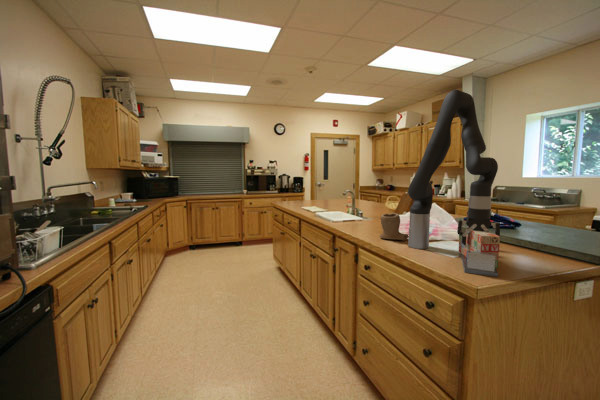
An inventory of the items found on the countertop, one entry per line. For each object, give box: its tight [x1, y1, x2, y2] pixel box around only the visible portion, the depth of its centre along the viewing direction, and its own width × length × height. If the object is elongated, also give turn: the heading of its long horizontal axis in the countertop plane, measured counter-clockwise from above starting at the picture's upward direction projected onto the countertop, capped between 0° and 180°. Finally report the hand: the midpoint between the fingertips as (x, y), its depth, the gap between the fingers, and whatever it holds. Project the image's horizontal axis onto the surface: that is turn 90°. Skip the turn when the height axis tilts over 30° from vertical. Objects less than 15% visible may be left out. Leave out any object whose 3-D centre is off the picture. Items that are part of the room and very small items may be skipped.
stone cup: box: [379, 212, 409, 241], centre depth 147 cm, size 15×12×15 cm
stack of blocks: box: [458, 230, 501, 269], centre depth 107 cm, size 21×6×12 cm, turn 168°
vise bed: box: [459, 251, 499, 278], centre depth 109 cm, size 10×36×8 cm, turn 151°
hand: (476, 246), depth 106 cm, fingers open, 8 cm apart
